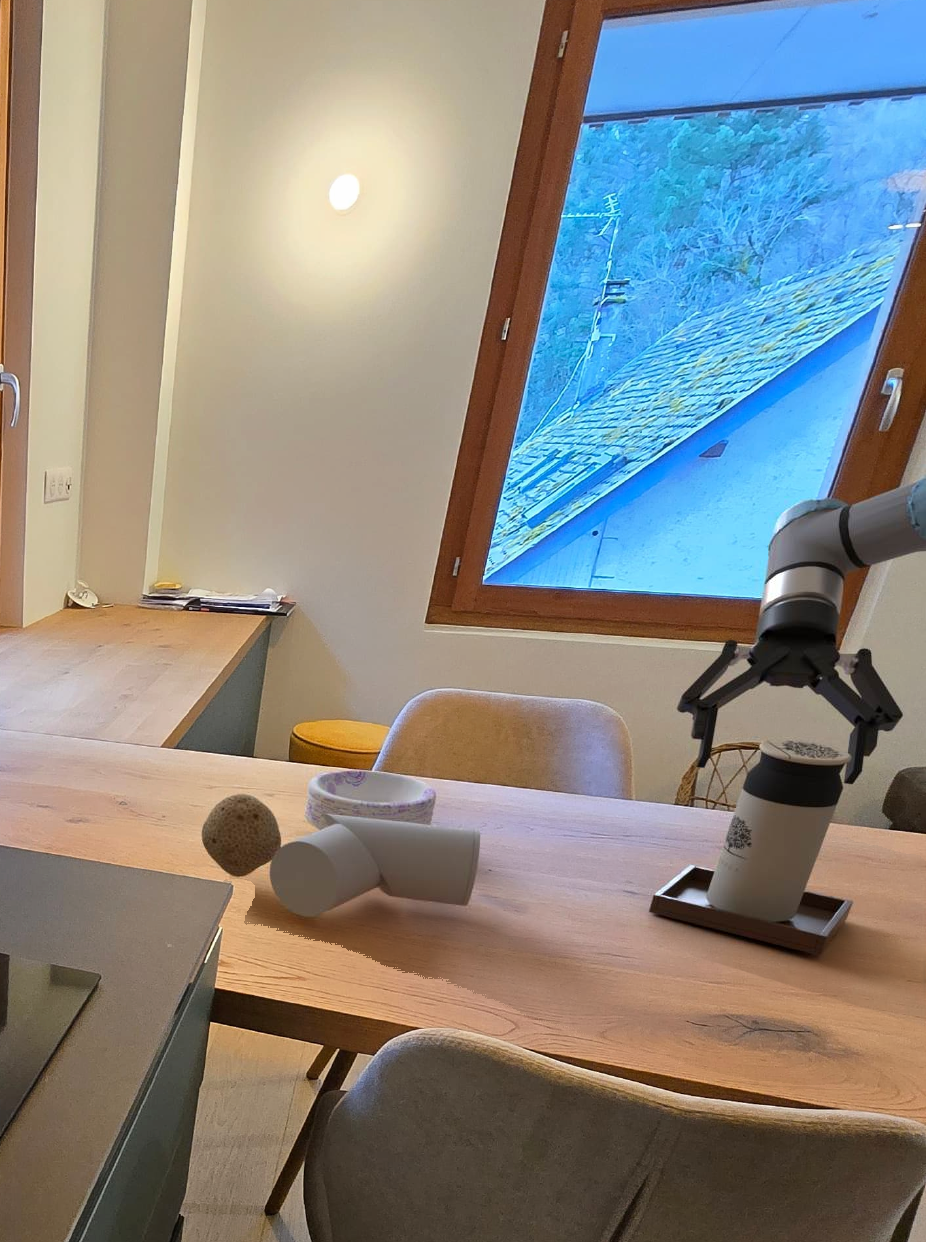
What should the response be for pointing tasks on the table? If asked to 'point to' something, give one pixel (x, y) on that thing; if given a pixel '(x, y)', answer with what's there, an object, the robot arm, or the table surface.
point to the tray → (802, 932)
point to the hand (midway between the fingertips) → (776, 769)
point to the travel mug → (778, 829)
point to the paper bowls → (369, 797)
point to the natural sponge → (241, 834)
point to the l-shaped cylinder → (375, 864)
